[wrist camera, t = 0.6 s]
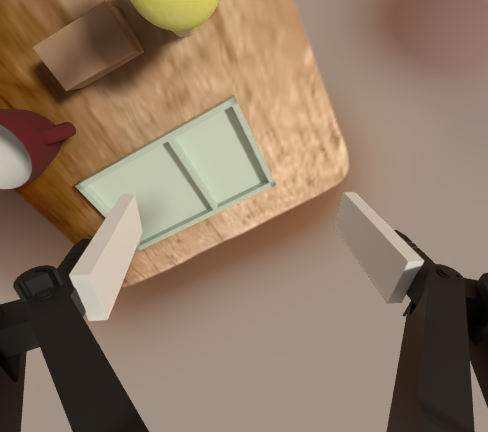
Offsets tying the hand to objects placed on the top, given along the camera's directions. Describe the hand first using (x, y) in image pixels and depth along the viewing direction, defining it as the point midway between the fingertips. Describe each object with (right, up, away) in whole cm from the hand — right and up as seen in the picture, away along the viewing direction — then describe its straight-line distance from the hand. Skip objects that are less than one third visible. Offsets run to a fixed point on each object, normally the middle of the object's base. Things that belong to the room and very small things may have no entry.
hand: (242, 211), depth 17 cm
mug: (-26, +12, +19) cm, 34 cm away
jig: (-10, +5, +24) cm, 26 cm away
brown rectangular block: (-17, +20, +15) cm, 30 cm away
